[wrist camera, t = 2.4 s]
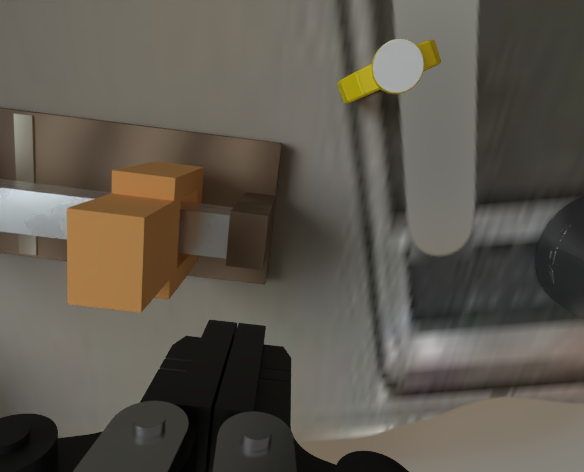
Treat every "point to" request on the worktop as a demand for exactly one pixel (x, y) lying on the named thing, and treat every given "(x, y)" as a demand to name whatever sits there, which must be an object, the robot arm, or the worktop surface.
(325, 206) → the worktop surface
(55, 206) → the grey square bar
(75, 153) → the rig
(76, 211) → the collar
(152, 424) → the robot arm
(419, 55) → the watch
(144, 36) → the worktop surface
